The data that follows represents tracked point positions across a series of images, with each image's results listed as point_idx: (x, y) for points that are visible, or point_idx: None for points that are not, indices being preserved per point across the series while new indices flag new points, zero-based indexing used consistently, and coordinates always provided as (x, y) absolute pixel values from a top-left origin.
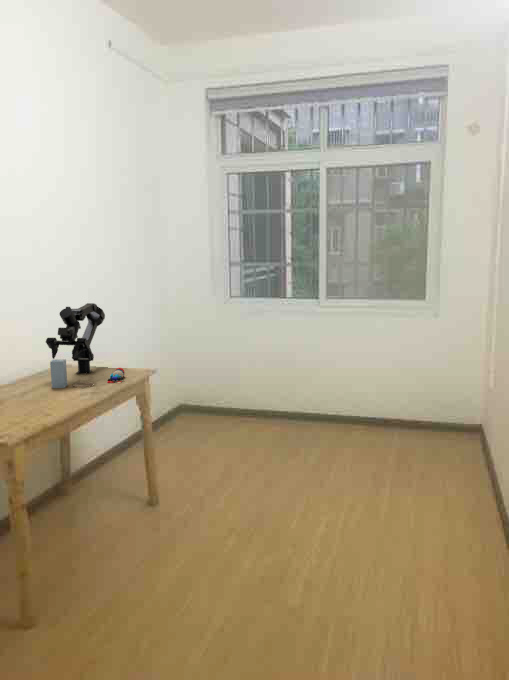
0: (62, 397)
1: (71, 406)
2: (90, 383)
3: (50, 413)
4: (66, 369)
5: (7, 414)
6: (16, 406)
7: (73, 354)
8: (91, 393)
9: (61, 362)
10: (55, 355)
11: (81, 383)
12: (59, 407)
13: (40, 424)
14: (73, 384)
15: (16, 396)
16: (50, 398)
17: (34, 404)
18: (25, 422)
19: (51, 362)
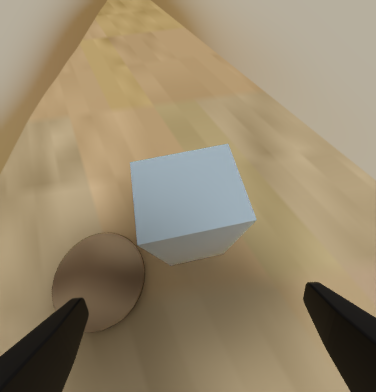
0: (124, 126)
1: (78, 77)
2: (66, 290)
3: (108, 45)
4: (156, 256)
5: (186, 31)
6: (200, 62)
7: (37, 335)
8: (47, 171)
9: (144, 164)
10: (348, 382)
11: (108, 283)
12: (103, 69)
13: (104, 13)
14: (138, 259)
15: (259, 116)
16: (153, 115)
17: (168, 76)
18: (132, 15)
19: (217, 150)
